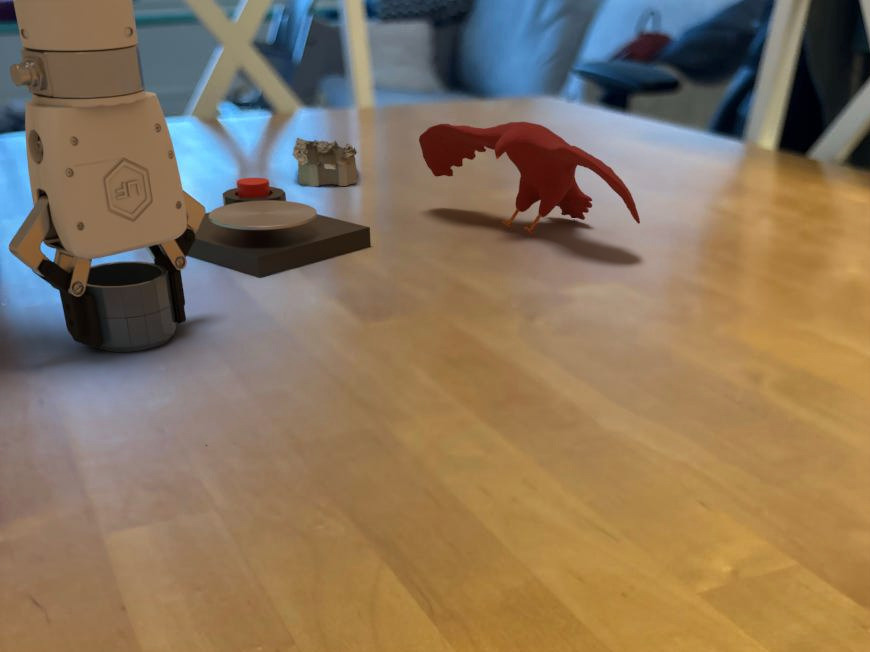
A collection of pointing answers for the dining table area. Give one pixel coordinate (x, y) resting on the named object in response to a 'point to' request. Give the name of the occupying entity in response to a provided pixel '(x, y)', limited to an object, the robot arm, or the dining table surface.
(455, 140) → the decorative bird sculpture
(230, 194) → the scale
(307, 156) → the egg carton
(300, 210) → the grey round platter
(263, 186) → the tare button
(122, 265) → the cylindrical container
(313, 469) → the dining table surface
